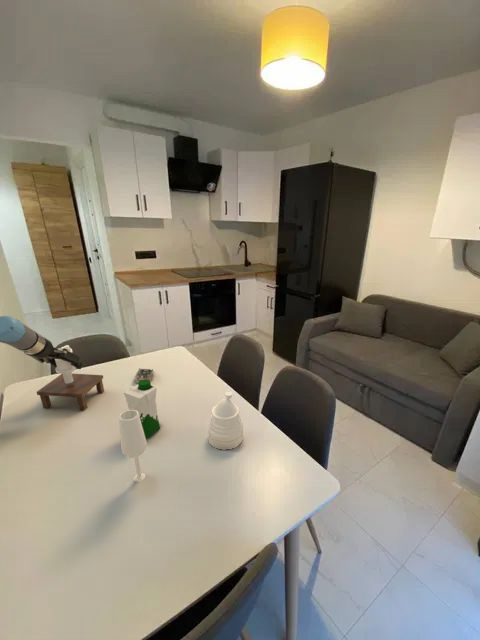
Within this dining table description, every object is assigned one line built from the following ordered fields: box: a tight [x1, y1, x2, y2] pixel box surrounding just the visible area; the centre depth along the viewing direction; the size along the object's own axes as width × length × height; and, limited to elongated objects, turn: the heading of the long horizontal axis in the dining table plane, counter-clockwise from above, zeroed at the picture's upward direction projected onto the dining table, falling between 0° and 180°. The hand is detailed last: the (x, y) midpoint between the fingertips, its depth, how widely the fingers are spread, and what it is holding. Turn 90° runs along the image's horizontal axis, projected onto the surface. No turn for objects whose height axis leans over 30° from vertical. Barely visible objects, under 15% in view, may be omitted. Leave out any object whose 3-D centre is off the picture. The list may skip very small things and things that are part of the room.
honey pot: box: [207, 391, 244, 451], centre depth 103 cm, size 13×13×18 cm
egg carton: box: [133, 367, 154, 385], centre depth 142 cm, size 11×8×4 cm
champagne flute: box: [118, 409, 148, 482], centre depth 83 cm, size 7×7×24 cm
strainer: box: [55, 344, 77, 383], centre depth 117 cm, size 7×7×15 cm
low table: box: [36, 373, 105, 411], centre depth 123 cm, size 18×16×8 cm
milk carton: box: [123, 380, 161, 440], centre depth 104 cm, size 9×9×20 cm
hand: (70, 365), depth 121 cm, fingers closed on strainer, 7 cm apart
